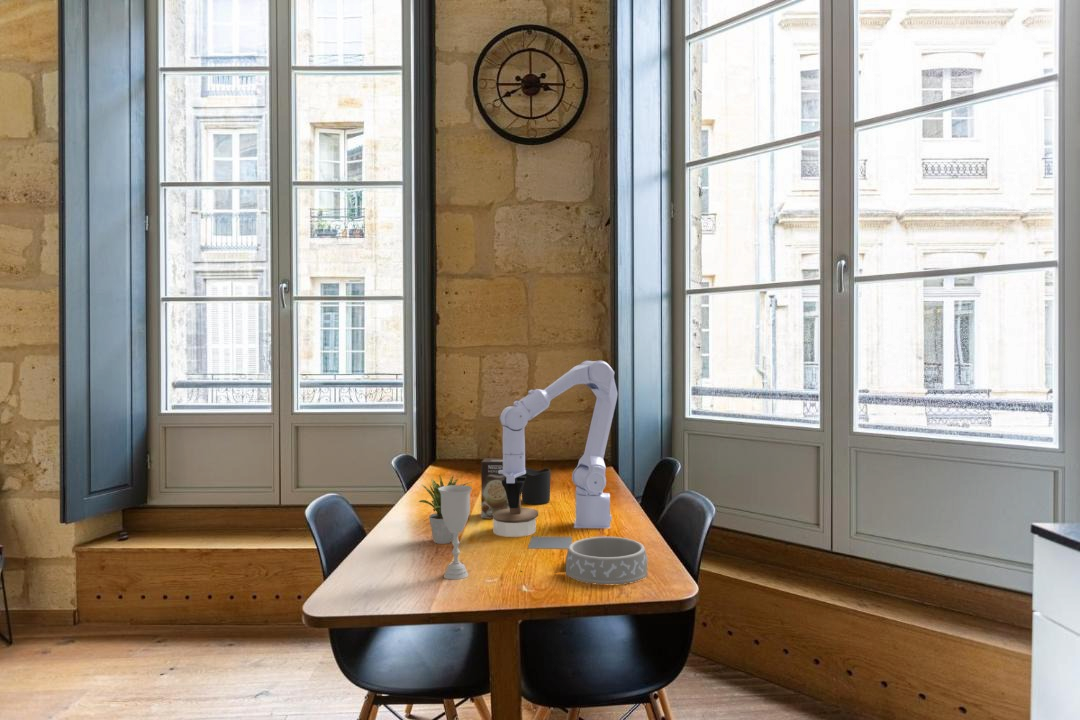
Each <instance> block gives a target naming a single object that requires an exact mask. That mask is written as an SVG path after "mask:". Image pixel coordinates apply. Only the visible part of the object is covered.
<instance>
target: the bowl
mask: <svg viewBox="0 0 1080 720" xmlns="http://www.w3.org/2000/svg"><path fill="white" fill-rule="evenodd" d="M536 518H537V517H536ZM536 518H534V519H530V520H525V521H515V522H508V521H499V520H496V519H494V518H492V521H493V523H492V526H493V527H492V529H493V530H492V532H493V534H494V535H496V536H500V537H504V538H505V537H506V538H508V537H509V538H519V537H526V536H527V537H528V536H531V535H533V534H535V533H536V530H537V528H536V527H537V522H536V521H537V519H536Z"/></svg>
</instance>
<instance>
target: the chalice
mask: <svg viewBox="0 0 1080 720" xmlns="http://www.w3.org/2000/svg"><path fill="white" fill-rule="evenodd" d="M472 490H473V487H472V486H470V485H463V484H456V485H449V486H447V485H444V486H443V487H440V488H439V491H440V493H441V514H442V517H443V520H444V522H445V524H446V526H447V528H448V530H449V532H451V533H453V536H454V539H453V542H451V544H452V546H453V549H452V551H451V553H452V554H453V561H452V562H451V563H449V564H447V567H446V570H445V573H444V575H443V577H444V578H445V579H447V580H462V579H465V578H468V577H469V573H468V571H467V568H466V566H465V564H464V563H463V562H461V561H460V560H459V555H460V553H461V551H460V548H459V545H460V543H461V542H460V541H459V534H461V533H463V531H464V529H465V526H466V524H467V522H468V519H469V517H470V513H471V492H472Z"/></svg>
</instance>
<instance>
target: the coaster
mask: <svg viewBox="0 0 1080 720" xmlns="http://www.w3.org/2000/svg"><path fill="white" fill-rule="evenodd" d="M572 543H573V537H572V536H531V539H530V541H529V544H528V546H527V549H533V550H536V549H537V550H538V549H541V550H542V549H544V550H568V547H569V545H570V544H572Z"/></svg>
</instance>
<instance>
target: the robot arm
mask: <svg viewBox="0 0 1080 720" xmlns="http://www.w3.org/2000/svg"><path fill="white" fill-rule="evenodd" d="M575 385H586V386H587V387H589V388H590V390H591V391H592V393H593V394H594V396H595V397H596V401H595V405H594V408H593V413H592V418H591V421H590V425H589V431H588V433H587V434H588V436H587V439H586V443H585V449H584V453H583V455H582V456H581V457H580V458H579V459H578V463H577V466H576V467H575V468H574V470H573V471H572V475H571V480H572V483H573V484H574V486H575V487H576V488H575V495H574V496H575V520H574V524H573V529H611V522H612V514H611V494H610V493H609V492H603V490H604V489H605V488H606V485H607V478H606V471H607V470H606V469H607V467H606V463H605V460H604V458H605V452H606V448H607V445H608V440H609V435H610V430H611V427H612V423H613V418H614V413H615V409H616V406H617V405H616V404H617V400H618V394H619V393H618V389H617V385H616V380H615V370H613V368H612V367H611V366H610V364H609V363H608V362H606V361H604V360H594V361H593V360H584V361H583V362H581V363H580V364H577V365H576V366H574V367H572V368H571V369H569V370H568V371H567V372H565V373H563V375H562V376H560V377H559V378H558V379H556V380H555V381H554V382H552V383H550V384H549V385H548V386H547V387H546V388H544V389H539V388H536V389H530V390H528V391H527V392H528V394H527V395H525V396H524V397H522V398H520V400H515V401H514V402H513V406H511V405H510V406H507V407H505V408H504V409H503V410H502V412H501V414H500V416H499V421H500V424H501V426H502V459H503V470H499V471H498V473H499V474H503V475H504V476H505V478H504V480H502V485H503V487H504V489H505V491H506V495H507V499H508V504H509V508H518V505H519V498H520V494H521V495H522V488H523V485H524V482H525V480H526V476H521V475H524V474H526V470H525V468H526V436H525V427H526V426H527V424H528V423H529V422H528V421H532V419H534V418H535V417H536V416H538V415H540V414H541V413H543V412H544V411H546V410H547V409H548V408H550V404H551V401H552V400H554V398H556V397H558V396H559V395H561V394H563V393H564V392H566V391H567V390H569V389H570V388H573V387H574V386H575Z"/></svg>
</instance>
